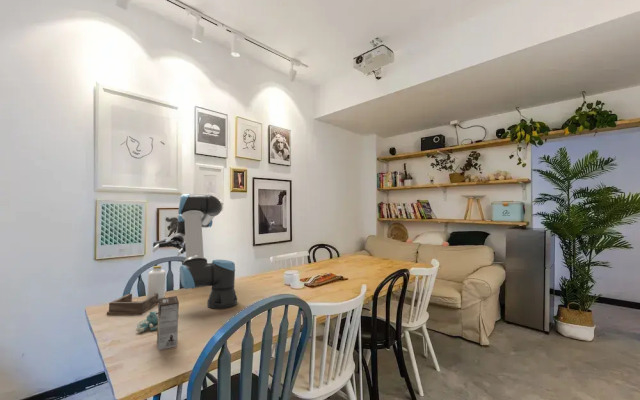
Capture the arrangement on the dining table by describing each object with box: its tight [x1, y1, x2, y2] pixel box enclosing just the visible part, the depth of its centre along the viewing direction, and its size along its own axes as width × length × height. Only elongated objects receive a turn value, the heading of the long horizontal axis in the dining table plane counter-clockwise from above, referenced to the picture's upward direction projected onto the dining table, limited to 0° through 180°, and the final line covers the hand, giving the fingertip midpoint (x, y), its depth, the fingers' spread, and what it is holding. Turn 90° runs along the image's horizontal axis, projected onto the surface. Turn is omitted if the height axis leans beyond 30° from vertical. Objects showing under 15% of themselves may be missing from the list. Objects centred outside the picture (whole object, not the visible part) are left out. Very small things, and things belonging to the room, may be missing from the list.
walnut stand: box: [106, 293, 159, 315], centre depth 142 cm, size 16×16×5 cm
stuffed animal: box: [135, 310, 158, 333], centre depth 119 cm, size 11×7×12 cm
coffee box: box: [156, 295, 180, 351], centre depth 106 cm, size 9×6×16 cm
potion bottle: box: [146, 265, 166, 301], centre depth 158 cm, size 8×8×18 cm
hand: (166, 252), depth 166 cm, fingers open, 13 cm apart
